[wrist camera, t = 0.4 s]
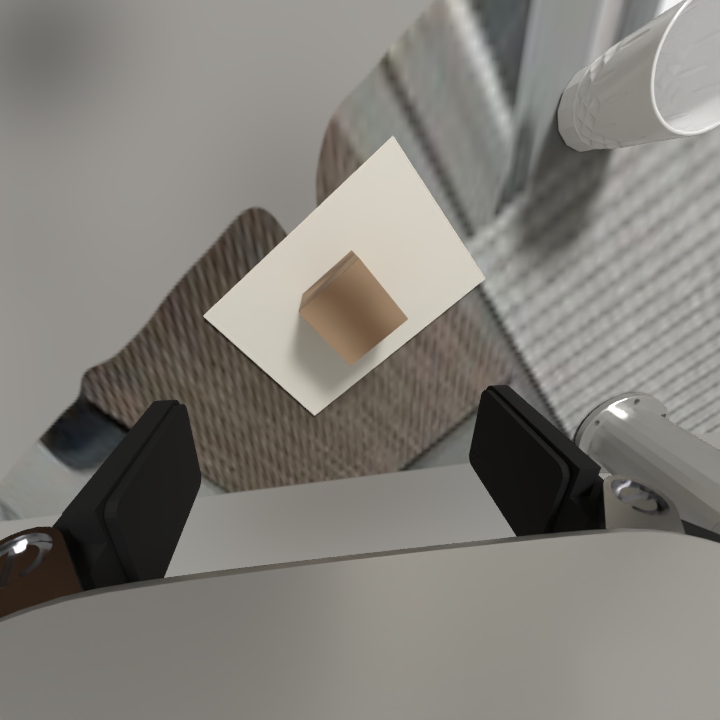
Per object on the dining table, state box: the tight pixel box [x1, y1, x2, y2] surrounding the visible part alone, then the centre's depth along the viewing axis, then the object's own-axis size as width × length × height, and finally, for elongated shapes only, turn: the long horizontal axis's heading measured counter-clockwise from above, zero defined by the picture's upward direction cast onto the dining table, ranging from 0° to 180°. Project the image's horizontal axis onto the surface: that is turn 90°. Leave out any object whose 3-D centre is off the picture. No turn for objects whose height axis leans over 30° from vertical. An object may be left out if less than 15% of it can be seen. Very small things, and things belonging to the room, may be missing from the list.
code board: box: [203, 136, 485, 416], centre depth 34 cm, size 24×16×1 cm, turn 130°
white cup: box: [557, 0, 720, 152], centre depth 25 cm, size 8×8×10 cm
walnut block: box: [299, 250, 408, 366], centre depth 30 cm, size 6×6×7 cm
